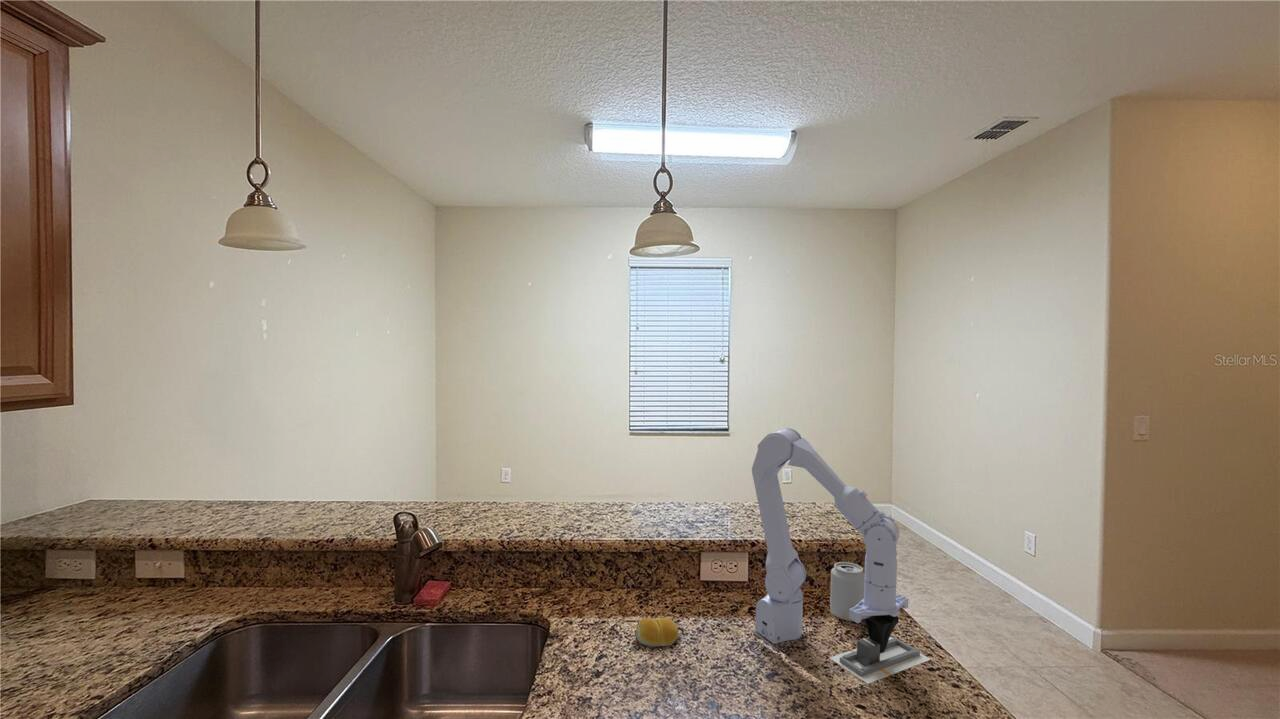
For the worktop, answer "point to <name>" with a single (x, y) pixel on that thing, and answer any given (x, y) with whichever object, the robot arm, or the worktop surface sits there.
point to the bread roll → (656, 632)
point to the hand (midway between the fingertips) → (878, 650)
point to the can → (846, 588)
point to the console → (882, 661)
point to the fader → (868, 651)
